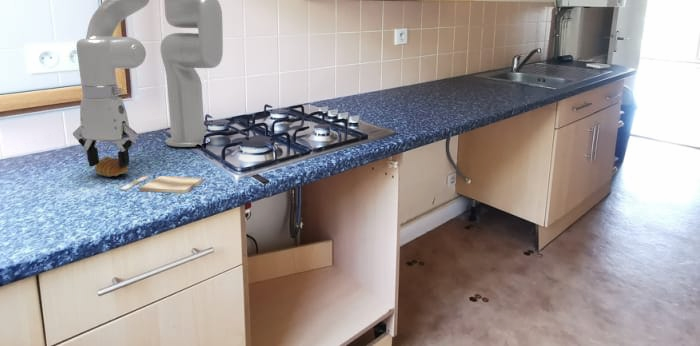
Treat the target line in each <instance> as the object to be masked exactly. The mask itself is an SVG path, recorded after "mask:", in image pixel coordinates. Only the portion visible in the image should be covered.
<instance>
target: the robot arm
mask: <svg viewBox="0 0 700 346" xmlns="http://www.w3.org/2000/svg"><path fill="white" fill-rule="evenodd" d="M149 2H150V0H103V1H102V3H101V4H100V5H99V6H98V8H97V9H96V11H94V13H93V14H92V16H91V19H90V20H89V24H88V26H87V30H86V31H87V32H86V36H85V37H86V38H81V39H79V40H77V41H76V44H75V45H76V47H75V48H76V54H77V61H78V62H77V63H78V69H79V77H80V83H81V91H82V98H80V99H81V100H80V108H79V116H80V117H79V118H80V125H79V126H78V128H76V129H75V130H74V131H73V133H72V135H73V137H74V138H75V139H76V140H77V141H78V144H79V145H81V146H82V147H83V149H84V151H86V155H87V156H86V157H87V162H88V166H89V167H95V166H96V165H97V164H99V160H100V159H99V150H98V147H96V144H97V142H101V141H102V142H114V143H115V145H116V146H117V148H118V150H119V151H118V152H117V156H118V159H119V167H120V168H123V167H125V166H127V167H128V166H129V164H130V155H129V150H130V148H131V147H132V146H133V145H134V144H135V142H136V140H137V139H138V137H139V133H137V131H135V130H134V129H133V128H131V127H130V124H129V119H128V114H127V110H126V107H125V103H124V101H123V98H122V97H119V95H121V94H122V93H123V89H122V88H121V87H118V84H117V75H116V69H128V70H130V69H135V68H138V67H139V66H141V65H142V64H143V63H144V61H145V59H146V56H147V55H146V54H147V53H146V48H145V46H144V45H143V43H142V42H141V41H139V40H138V39H136V38H133V37H129V36H115V35H114V33H115V31H116V29H117V28H118V26H119V25H120V24H121V23H122V22H123V21H124V20H125V19H126V18H128V17H129V16H131V15H133V14H135V13H136V12H139V11H140V10H142V9H144V8H145V7H147V5H148V4H149ZM163 2H164V15H165V19H166V21H167V23H168V24H169V26H171V27H174V28H178V29H179V28H180V29H197V30H198V32H197V33H193V32H176V33H175V32H174V33H170V34H168V35H166V36H164V38H163V39H162V41H161V43H160V47H159V48H160V49H159V50H160V55H161V59H162V63H163V66H164V67H163V68H164V72H165V76H166V86H167V98H168V99H167V100H168V111H169V124H170V126H169V127H170V135H171V136H170V137H169V138H167V139H165V142H166V145H167V146H171V147H176V148H183V147H184V148H187V147H188V148H190V147H191V148H193V147H197V146H196V145H197V144H203V138H204V136H206V131H207V130H208V126H207V125H206V124H205V120H204V119H205V117H204V116H205V115H204V102H203V100H204V99H203V87H202V80H201V77H200V75H199V74H198V72H197V71H196V69H214V68H216V67H218V66H219V65H220V64H221V62H222V60H223V53H224V52H223V51H224V48H223V47H224V43H223V40H224V39H223V31H224V30H223V12H222V11H223V10H222V7H221V4H220V1H219V0H164V1H163ZM127 138H128V139H127ZM206 141H207V142H208V140H206Z"/></svg>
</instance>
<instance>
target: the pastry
mask: <svg viewBox="0 0 700 346" xmlns="http://www.w3.org/2000/svg"><path fill="white" fill-rule="evenodd" d="M94 170H95V173H96V174H98V175H99V176H104V177H113V176H114V177H117V176H119V175H122V174H126V175H127V173H128V171H129V167H128V165H127V166H125V167H123V168H120V167H119V159H118V158H117V157H115V158H114V157H109V156H105V157H103V158H101V159H99V164H97V165H95V166H94Z"/></svg>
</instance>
